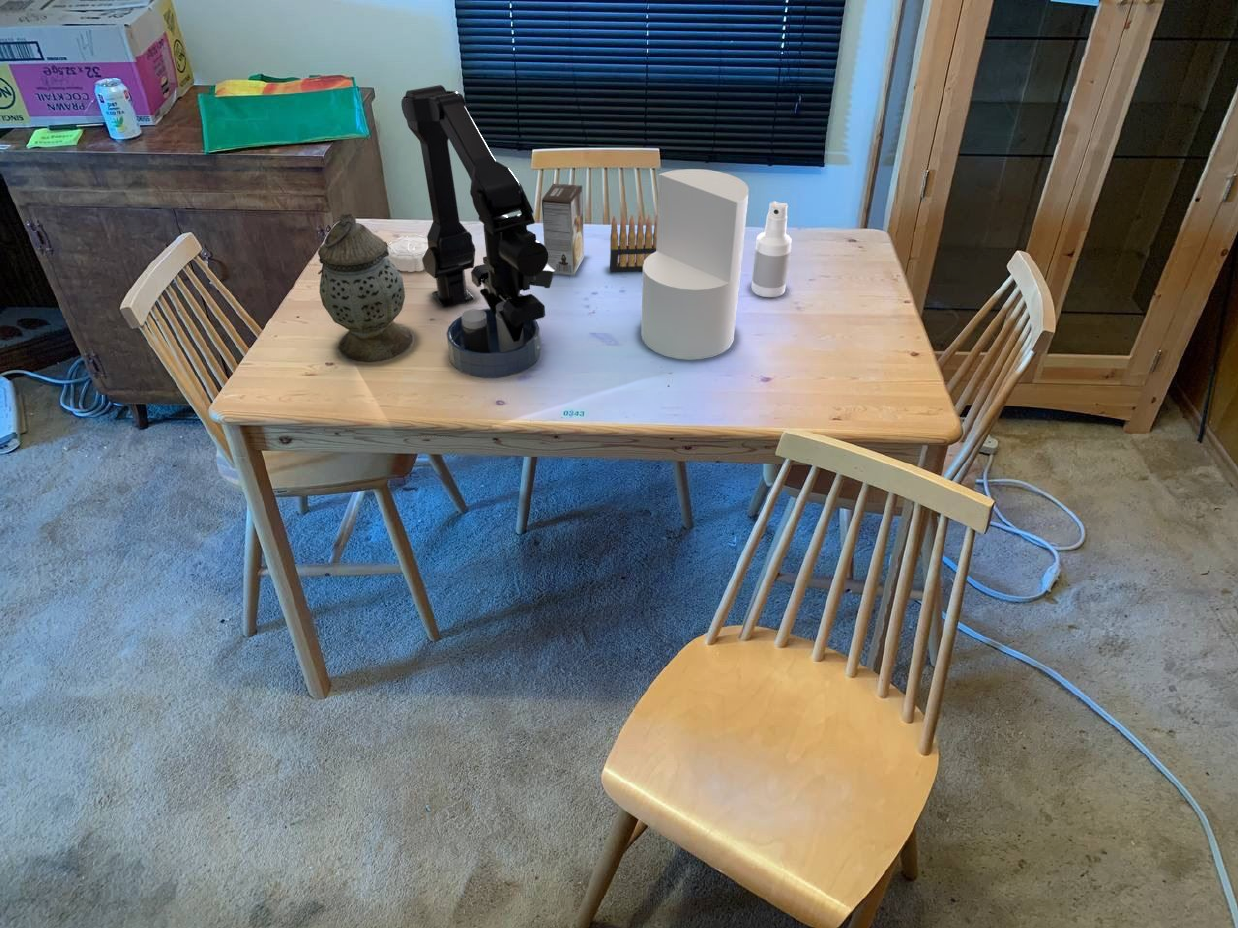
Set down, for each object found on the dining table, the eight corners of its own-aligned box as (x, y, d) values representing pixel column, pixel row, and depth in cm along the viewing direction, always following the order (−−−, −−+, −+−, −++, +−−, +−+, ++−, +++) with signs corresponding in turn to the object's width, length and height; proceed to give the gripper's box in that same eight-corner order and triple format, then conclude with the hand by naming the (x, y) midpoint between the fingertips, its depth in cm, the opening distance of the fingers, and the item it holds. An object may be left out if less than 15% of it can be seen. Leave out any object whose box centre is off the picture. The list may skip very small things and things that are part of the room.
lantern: (390, 370, 148) (363, 235, 133) (319, 358, 152) (284, 224, 136) (427, 331, 159) (406, 202, 143) (360, 320, 162) (332, 192, 146)
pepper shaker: (462, 354, 152) (456, 312, 147) (485, 348, 154) (481, 306, 148) (471, 366, 149) (466, 324, 143) (495, 360, 151) (491, 317, 145)
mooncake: (376, 268, 179) (373, 252, 177) (403, 245, 188) (401, 229, 186) (427, 275, 177) (425, 260, 174) (453, 252, 186) (451, 236, 183)
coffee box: (556, 254, 185) (552, 182, 174) (584, 257, 184) (583, 184, 173) (545, 273, 178) (540, 199, 167) (574, 276, 177) (572, 201, 166)
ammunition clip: (659, 267, 180) (661, 212, 173) (660, 271, 179) (662, 216, 171) (609, 268, 179) (609, 214, 172) (610, 272, 178) (610, 218, 170)
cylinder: (684, 303, 168) (692, 161, 150) (753, 335, 158) (770, 188, 141) (622, 334, 158) (623, 187, 141) (691, 370, 149) (701, 217, 131)
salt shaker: (495, 345, 154) (490, 303, 149) (518, 339, 156) (514, 297, 151) (505, 357, 151) (501, 315, 146) (528, 350, 153) (525, 308, 148)
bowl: (437, 345, 155) (433, 321, 152) (518, 324, 161) (516, 300, 158) (470, 389, 144) (467, 364, 141) (555, 364, 150) (554, 339, 147)
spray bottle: (747, 294, 171) (756, 208, 159) (755, 280, 176) (765, 195, 164) (780, 300, 169) (792, 213, 157) (788, 285, 174) (800, 200, 162)
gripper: (571, 265, 139) (574, 347, 149) (524, 224, 151) (529, 302, 161) (508, 280, 135) (516, 363, 144) (465, 236, 147) (475, 316, 157)
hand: (510, 334), depth 152 cm, fingers closed on salt shaker, 4 cm apart
